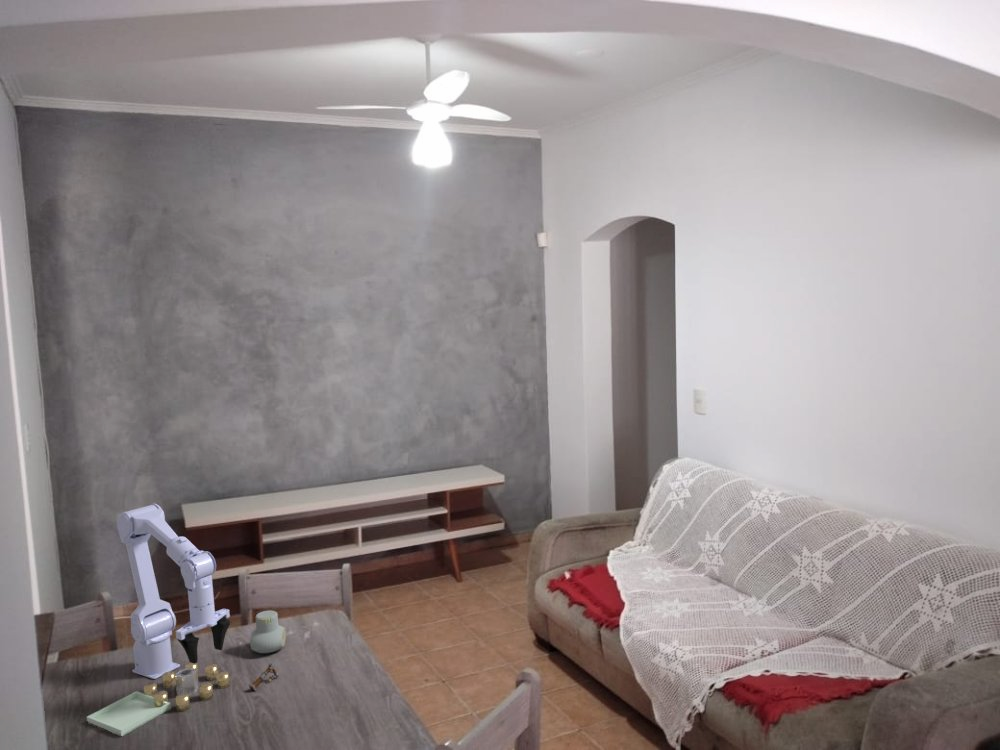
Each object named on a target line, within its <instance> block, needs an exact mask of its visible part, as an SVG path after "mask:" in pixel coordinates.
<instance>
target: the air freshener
mask: <svg viewBox="0 0 1000 750" xmlns="http://www.w3.org/2000/svg"><path fill="white" fill-rule="evenodd" d="M278 616H279V615H278V612H277V611H275V610H264V611H261V612H259V613H257V614H256V615H255V627H256V628H255V629H253V631H252V633H251V634H250V635H251V636H250V643H249V644H250V649H251V650H252V651H253V652H255V653H258V654H270V653H274V652H277V651H280V649H283V648H284V647H285V645H286V637H287V632H286V631H287V630H286V628H285V627H284V626H282V625H280V624H279V617H278Z"/></svg>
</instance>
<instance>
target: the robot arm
mask: <svg viewBox="0 0 1000 750" xmlns="http://www.w3.org/2000/svg"><path fill="white" fill-rule="evenodd" d="M116 526H117V531H118V535H119V539H120V542H121V543H122V544H125V548H126V551H127V556H128V561H129V566H130V568H131V574H132V578H133V583H134V588H135V591H136V593H135V594H136V597H137V600H138V605H137V607H136V608H135V609H134V610H133V612H132V613H131V614H130V617H129V618H130V632H131V636H132V638H133V640H134V643H133V647H132V650H133V651H132V652H133V661H134V669H132V671H131V672H132V673H134V674H138V675H140V676H144V677H146V678H150V679H152V680H157V679H159V678H160V677H162V675H163V674H164V673H165V672H169V671H175V670H176V669H178V668H180V666H181V664H180V663H176V662H174V661H173V655H172V646H171V636H172V635H173V631H174V629H176V625H177V619H176V618H177V617H176V615H175V612H174V611H173V610H172V606H171V603H170V602H168V601H165V600H162V599H160V598H161V597H160V594H159V589H158V584H157V580H156V576H155V575H156V574H155V572H154V567H153V562H152V557H151V553H150V549H149V544H148V541H149V539H150V538H151V536H152V537H153V538H155V539H156V540H158V542H160V543H161V544H162V545H163V546H165V547H166V555H167V556H168V557H170V559H171V560H173V562H174V563H175V564H177V565H178V567H179V568H180V574H181V576H182V578H183V580H184V582H183V583H184V586H185V588H186V589H187V597H188V608H189V617H190V618H189V621H188V622H187V623H186V624H184V625H183V626H181V627H180V628H178V630H175V639H177V641H178V643H180V645H181V646H182V648H183V649H184V651H185V653H186V655H187V658H188V660H189V662H188V663H190V662H191V663H194V664H195V663H197V664H198V662H199V661H198V646H199V645H198V643H199V640H200V638H199V637H197V636H195V634H194V633H196V632H198V631H201V630H202V629H206V628H208V627H210V630H211V634H212V641H213V646H214V647H213V648H214V649H215V650H217V651H222V650H223V649H224V642H225V637H226V634H227V632H228V629H229V626H230V625H231V622H230V621H231V620H229V619H228V618H230V617H231V615H230V609H228V608H222V609H219V610H216V609H215V599H214V598H215V597H214V587H213V575H214V574H215V573H216V570H217V563H216V559H215V557H214V556H213V554H212V553H211V552H210V551H206V550H205V551H204V550H199V549H198V548H197V547H196V546H195V545H194V544H193V543H192V542H191V541H190V540H189V539H188V538H187V537H185V536H178V534H176V532H175V531H174V530H173V529H172V527H171V526H170V525H169V524H168V523H167V521H166V516H165V512H164V510H163V508H162V507H161V506H160V505H159V504H157V503H152V504H149V505H147V506H141V507H138V508H135V509H131V510H128V511H121V512H120V514H119V515H118V517H117V520H116Z"/></svg>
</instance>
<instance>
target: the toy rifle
mask: <svg viewBox="0 0 1000 750" xmlns="http://www.w3.org/2000/svg"><path fill="white" fill-rule="evenodd" d="M275 667H276V663H275V662H272V663H270V664H268V666H267V669H266V670H264V671H263V672H262V673H261V674H260V675H259V677H258V678H257V679H256V680H255V681H253V683H249V684H248V686H249V688H250V690H253V691H255V692H256V691H257V687H258V686H259V685H260V684H261V682H262V681H264V680H265V678H267V676H269V674H270V673H273V675H270V676H269V677H268V678H267V679H266V684H269V683H270V682H271V683H272V681H274V678H279V676H280V675H279V673H278V672H277V670H276V669H275Z"/></svg>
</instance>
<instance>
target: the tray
mask: <svg viewBox="0 0 1000 750" xmlns="http://www.w3.org/2000/svg"><path fill="white" fill-rule="evenodd" d="M171 709H172V704H171V702H169V701H168V702H166V701H164V702H163V706H162V707H155V702H154V697H152V696H149V695H146V694H144V692H140V691H138V690H136V691H134V692H132V693H130V694H128V695H126V696H124V697H122V698H121V699H118V700H116V701H115V702H113V703H111V704H109V705H107V706H105V707H103V708H101V709H99V710H98V711H96V712H93V713H92V714H89V715H88V716H86V722H87V721H88V722H90V723H92V724H94V725H97V726H99V727H101V728H104V729H106V730H108V731H107V732H109V731H110V732H109V733H111V732H112V734H114V735H116V734H117V736H119V737H121V736H122V737H123V736H125V735H128V734H129V733H132V732H133V731H134V730H137V729H138V728H140V727H141V726H143V725H145V724H146V723H149V722H151V721H152V720H155V719H156V718H158V717H159V716H161V715H163V714H165V713H166V712H168V711H170V710H171ZM94 725H93V726H94ZM99 727H98V728H99ZM101 728H100V729H101ZM104 729H103V730H104ZM106 730H105V731H106Z"/></svg>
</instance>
